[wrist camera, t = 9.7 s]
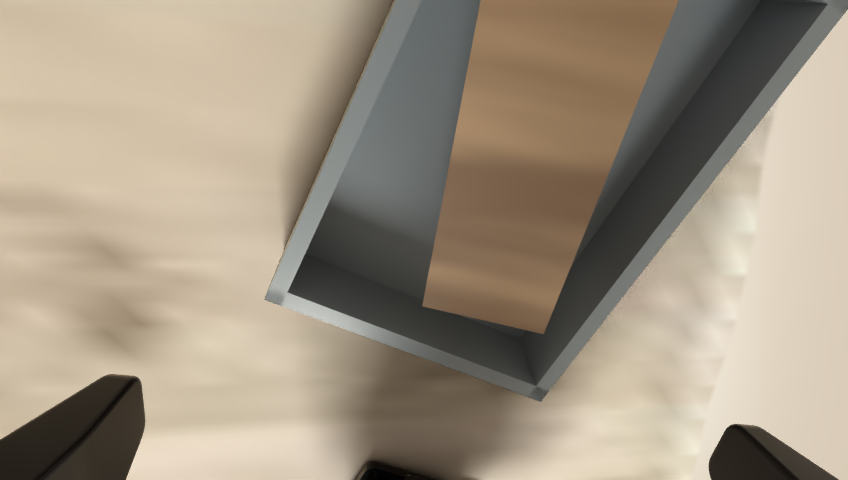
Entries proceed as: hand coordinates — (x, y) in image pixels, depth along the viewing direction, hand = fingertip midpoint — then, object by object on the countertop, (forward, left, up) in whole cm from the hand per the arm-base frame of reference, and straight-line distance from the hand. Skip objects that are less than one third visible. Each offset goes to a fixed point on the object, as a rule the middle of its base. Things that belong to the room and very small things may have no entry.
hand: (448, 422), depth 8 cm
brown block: (-2, -4, -10) cm, 11 cm away
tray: (+2, -3, -13) cm, 13 cm away
